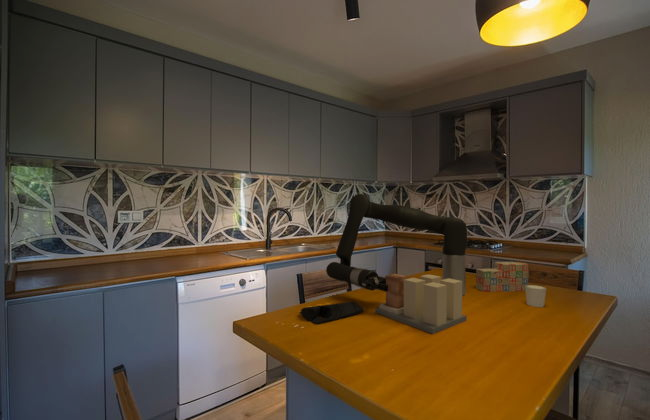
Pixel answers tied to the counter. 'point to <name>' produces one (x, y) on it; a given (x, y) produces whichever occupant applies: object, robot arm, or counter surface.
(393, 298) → the terracotta pillar
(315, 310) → the dark slate chunk
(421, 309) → the pillar board
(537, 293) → the beige piece
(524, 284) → the stack of blocks
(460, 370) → the counter surface
